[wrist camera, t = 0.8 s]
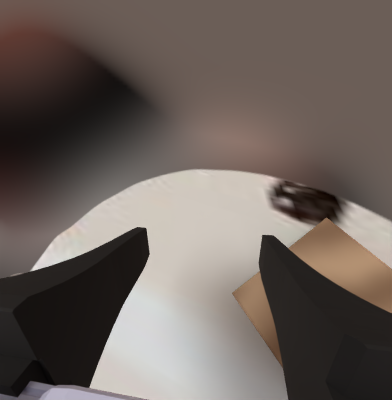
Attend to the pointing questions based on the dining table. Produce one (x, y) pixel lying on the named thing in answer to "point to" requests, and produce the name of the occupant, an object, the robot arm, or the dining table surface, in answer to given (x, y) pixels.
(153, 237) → the dining table surface
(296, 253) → the lid
